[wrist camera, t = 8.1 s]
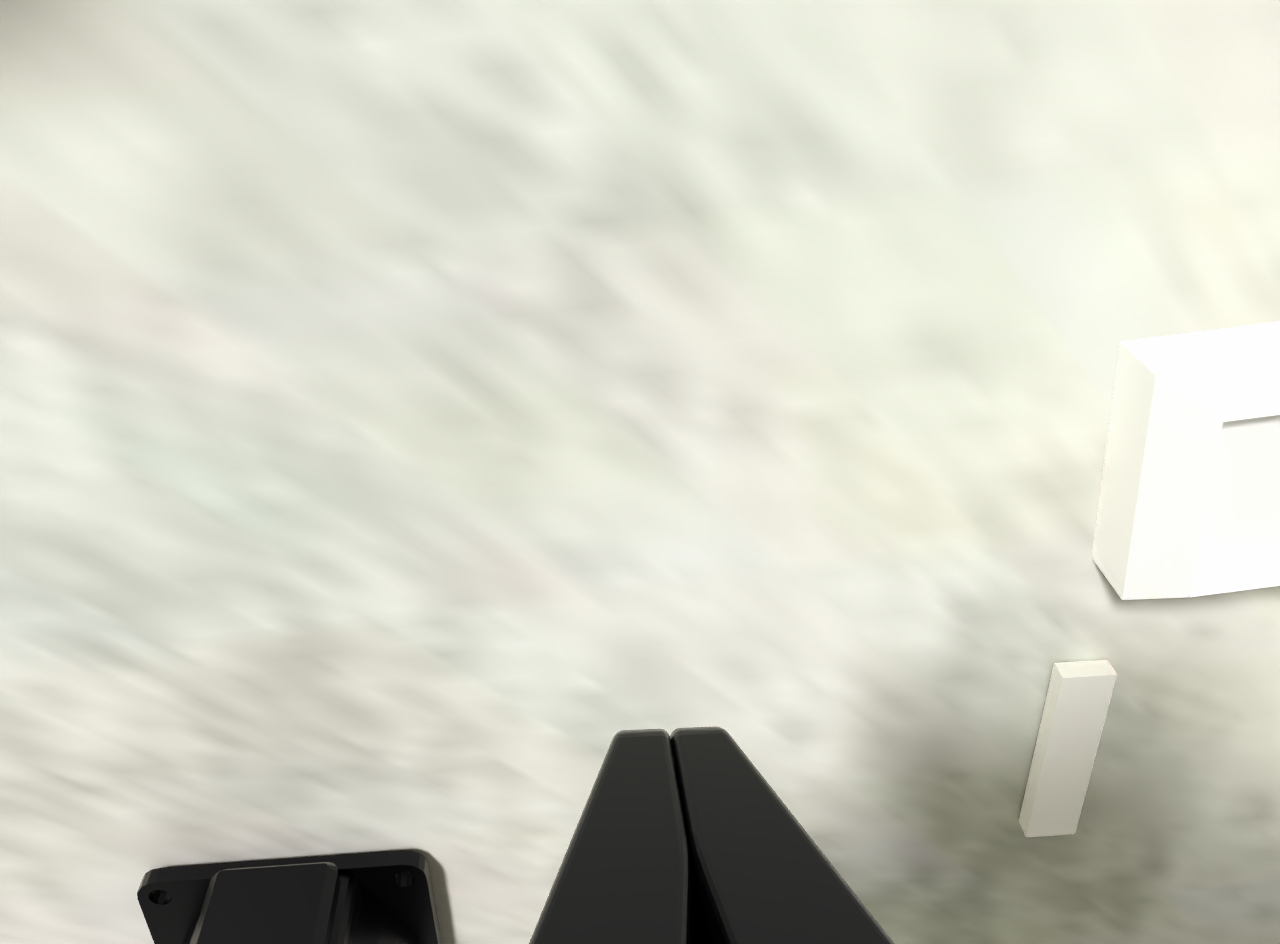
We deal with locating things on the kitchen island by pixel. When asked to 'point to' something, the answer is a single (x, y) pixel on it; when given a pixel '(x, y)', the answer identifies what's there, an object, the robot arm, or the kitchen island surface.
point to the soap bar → (1193, 465)
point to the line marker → (1066, 746)
